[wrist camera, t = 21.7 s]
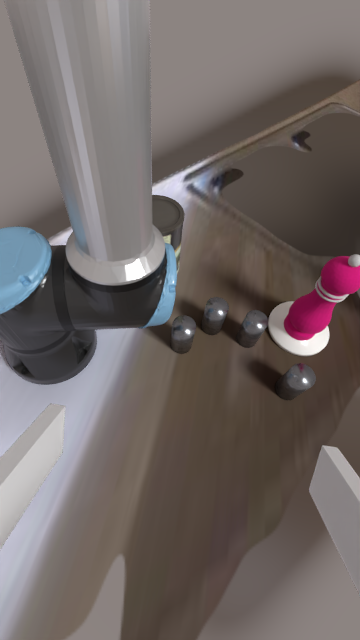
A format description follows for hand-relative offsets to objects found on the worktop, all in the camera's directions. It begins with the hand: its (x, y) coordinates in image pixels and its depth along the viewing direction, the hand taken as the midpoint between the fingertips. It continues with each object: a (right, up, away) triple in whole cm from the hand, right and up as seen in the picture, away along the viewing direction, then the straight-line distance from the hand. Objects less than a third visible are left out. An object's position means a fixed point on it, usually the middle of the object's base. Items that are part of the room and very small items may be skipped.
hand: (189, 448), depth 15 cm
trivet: (+23, +5, +44) cm, 50 cm away
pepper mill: (+23, +5, +43) cm, 49 cm away
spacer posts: (+9, -1, +39) cm, 40 cm away
